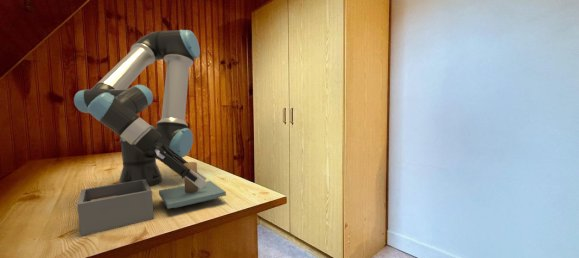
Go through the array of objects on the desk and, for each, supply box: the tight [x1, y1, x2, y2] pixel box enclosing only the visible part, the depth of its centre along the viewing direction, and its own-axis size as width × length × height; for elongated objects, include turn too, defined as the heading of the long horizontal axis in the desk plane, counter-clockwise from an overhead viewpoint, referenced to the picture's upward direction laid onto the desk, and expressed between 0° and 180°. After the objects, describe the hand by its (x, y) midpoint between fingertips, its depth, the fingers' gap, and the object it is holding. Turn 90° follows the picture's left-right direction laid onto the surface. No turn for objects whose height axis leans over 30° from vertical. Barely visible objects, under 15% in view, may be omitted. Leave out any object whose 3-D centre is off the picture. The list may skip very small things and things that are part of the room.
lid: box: [158, 161, 227, 210], centre depth 84 cm, size 15×17×11 cm
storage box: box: [76, 179, 155, 237], centre depth 74 cm, size 14×16×8 cm
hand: (203, 183), depth 85 cm, fingers closed on lid, 4 cm apart
